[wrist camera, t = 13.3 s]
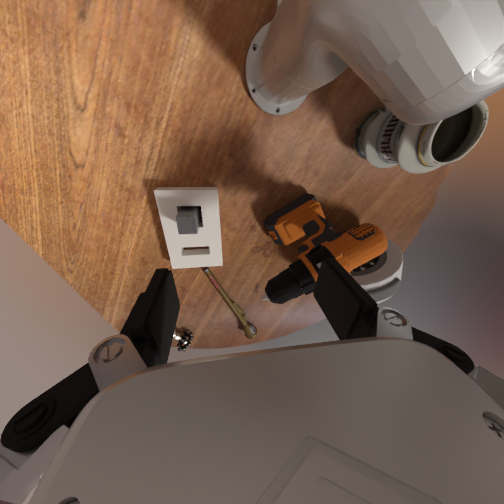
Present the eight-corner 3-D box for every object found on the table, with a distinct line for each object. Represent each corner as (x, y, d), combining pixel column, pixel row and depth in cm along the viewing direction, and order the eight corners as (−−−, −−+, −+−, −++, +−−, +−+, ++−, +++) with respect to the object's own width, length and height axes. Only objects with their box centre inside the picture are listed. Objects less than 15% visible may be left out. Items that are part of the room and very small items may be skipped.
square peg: (182, 204, 44) (175, 217, 37) (199, 204, 45) (195, 216, 38) (184, 220, 46) (178, 234, 39) (200, 219, 47) (197, 233, 40)
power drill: (254, 251, 54) (277, 324, 33) (241, 231, 50) (256, 300, 29) (323, 211, 50) (399, 264, 29) (315, 187, 46) (394, 228, 25)
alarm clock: (369, 227, 55) (434, 266, 38) (369, 247, 59) (428, 290, 42) (300, 253, 56) (334, 301, 40) (305, 271, 60) (337, 322, 44)
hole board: (157, 187, 41) (153, 190, 39) (217, 186, 43) (217, 189, 41) (174, 262, 52) (172, 268, 49) (222, 259, 53) (222, 265, 51)
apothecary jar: (354, 103, 39) (442, 81, 23) (408, 99, 40) (525, 75, 24) (343, 167, 45) (407, 182, 30) (390, 162, 46) (474, 174, 31)
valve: (154, 321, 62) (180, 337, 68) (147, 339, 57) (177, 355, 63) (168, 312, 61) (194, 329, 67) (163, 329, 56) (192, 346, 62)
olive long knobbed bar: (198, 268, 56) (212, 261, 56) (247, 334, 73) (258, 328, 73) (197, 277, 52) (213, 269, 52) (249, 345, 69) (261, 339, 69)
